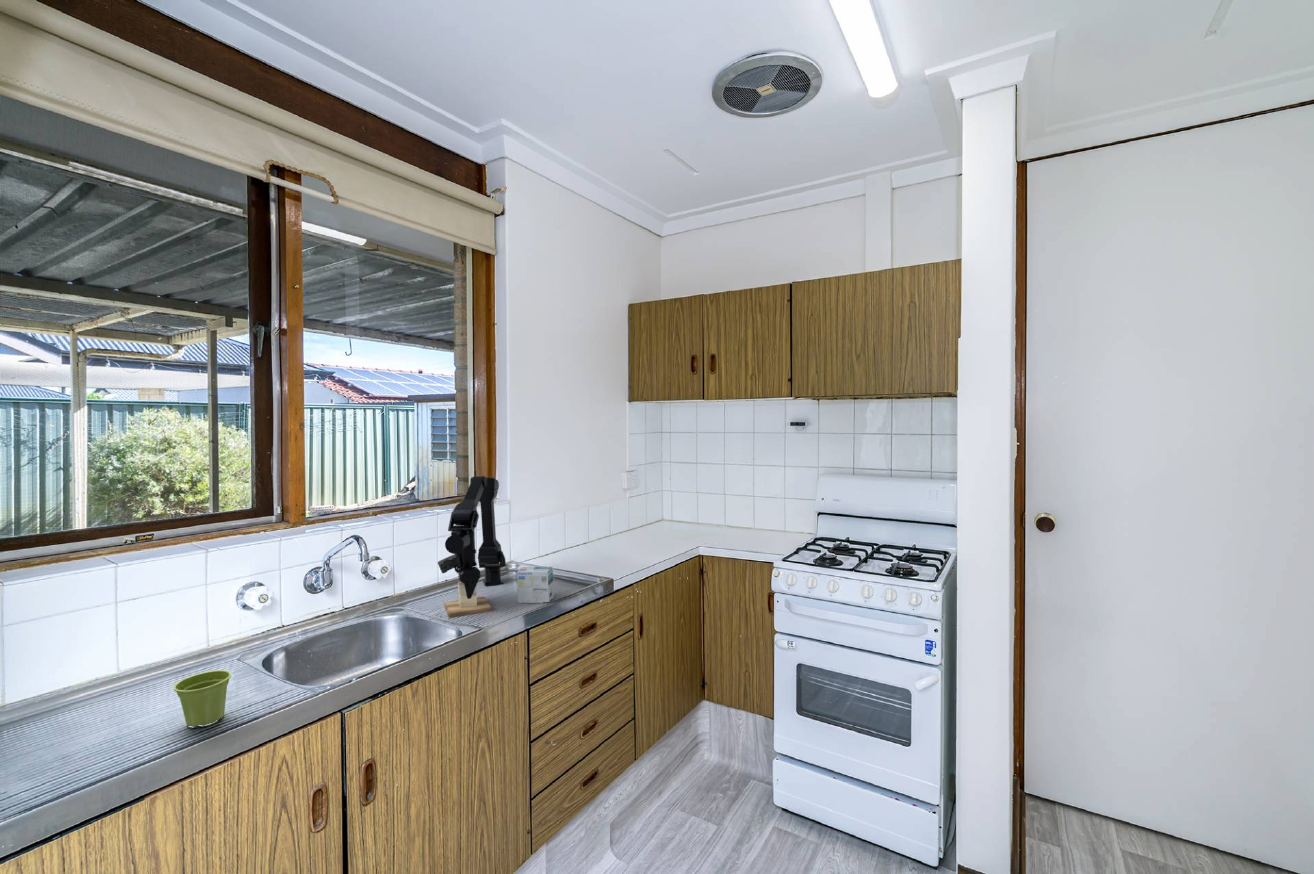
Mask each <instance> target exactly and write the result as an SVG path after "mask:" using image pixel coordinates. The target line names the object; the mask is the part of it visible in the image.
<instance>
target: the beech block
mask: <svg viewBox="0 0 1314 874" xmlns="http://www.w3.org/2000/svg"><path fill="white" fill-rule="evenodd" d="M457 594H458V595H457V597H458V600H459V606H460V608H464V607H471V606H477V598H478V596H477V586H476V587H475V590H474V592H473V595H472V597H471V599H467V595H466V590H465V586H464V584H463V583H462V582H460V581H458V582H457Z"/></svg>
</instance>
